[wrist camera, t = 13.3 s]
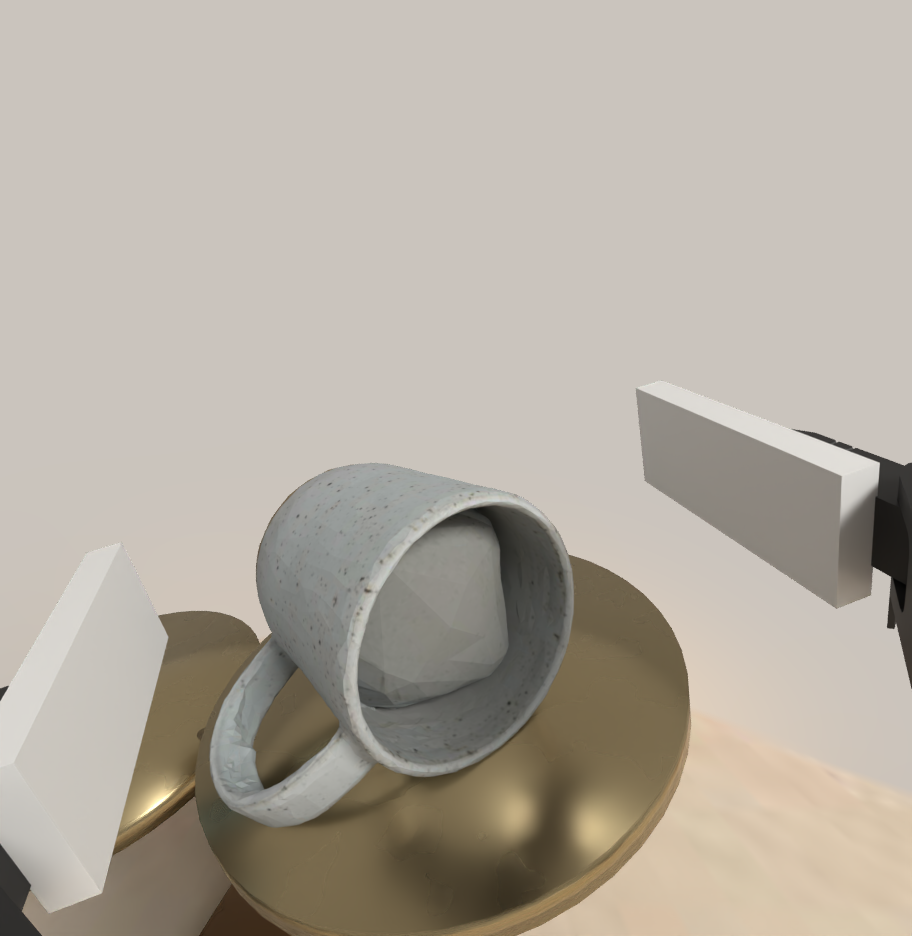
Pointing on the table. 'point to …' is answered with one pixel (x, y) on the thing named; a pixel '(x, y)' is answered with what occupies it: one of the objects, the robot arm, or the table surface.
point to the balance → (429, 787)
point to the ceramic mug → (396, 631)
